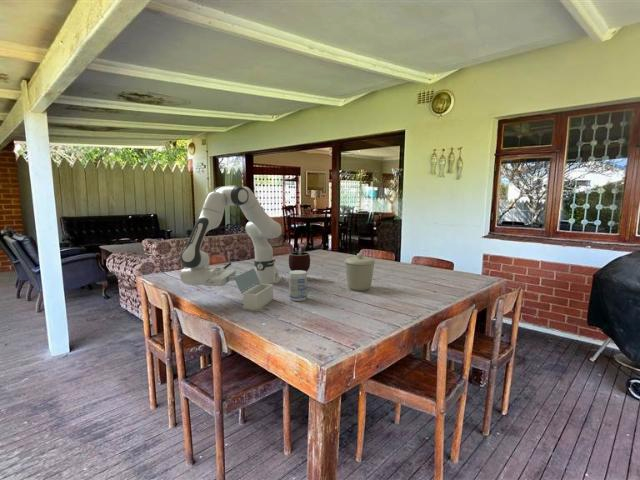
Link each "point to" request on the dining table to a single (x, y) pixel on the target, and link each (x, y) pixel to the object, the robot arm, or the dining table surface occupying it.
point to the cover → (247, 280)
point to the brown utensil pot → (299, 261)
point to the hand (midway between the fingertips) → (238, 277)
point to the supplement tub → (297, 285)
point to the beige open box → (258, 297)
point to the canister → (359, 272)
